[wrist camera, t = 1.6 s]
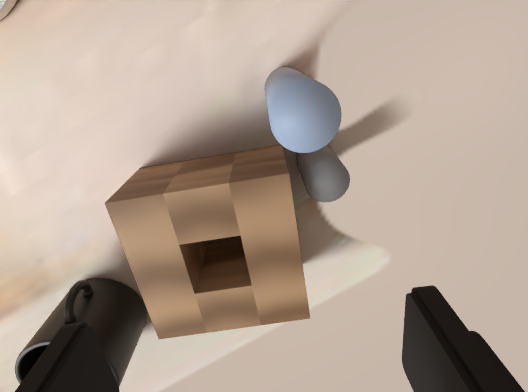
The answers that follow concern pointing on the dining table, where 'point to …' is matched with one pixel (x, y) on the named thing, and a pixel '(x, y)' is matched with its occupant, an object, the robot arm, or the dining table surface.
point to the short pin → (323, 174)
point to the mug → (93, 323)
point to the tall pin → (301, 110)
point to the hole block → (215, 254)
